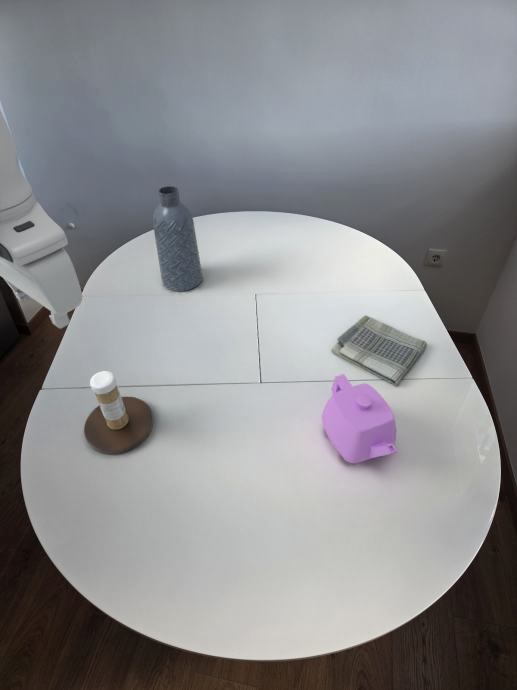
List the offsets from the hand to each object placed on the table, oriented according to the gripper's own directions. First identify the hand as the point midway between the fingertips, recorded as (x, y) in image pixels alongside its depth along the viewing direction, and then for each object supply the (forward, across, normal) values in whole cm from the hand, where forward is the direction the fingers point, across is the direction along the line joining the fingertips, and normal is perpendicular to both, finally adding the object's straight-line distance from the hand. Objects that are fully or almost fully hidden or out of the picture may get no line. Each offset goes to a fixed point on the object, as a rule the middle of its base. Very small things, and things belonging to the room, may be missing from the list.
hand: (43, 311), depth 61 cm
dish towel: (+37, +28, +61) cm, 77 cm away
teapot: (+37, +37, +34) cm, 62 cm away
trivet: (+37, -4, +6) cm, 38 cm away
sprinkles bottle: (+36, -4, +6) cm, 36 cm away
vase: (+37, -33, +52) cm, 72 cm away
